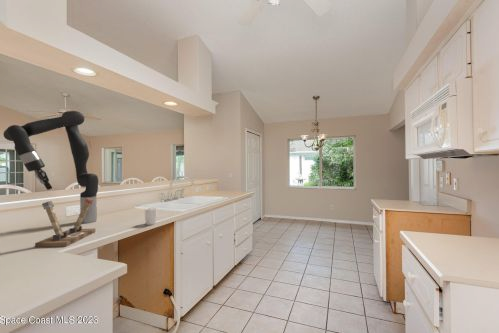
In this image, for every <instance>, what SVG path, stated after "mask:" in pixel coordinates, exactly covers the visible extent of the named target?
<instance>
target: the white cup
mask: <svg viewBox="0 0 499 333" xmlns="http://www.w3.org/2000/svg"><path fill="white" fill-rule="evenodd" d="M157 220H158V208H157V207H147V208H146V207H145V209H144V221H145V225H147V226H149V225H150V226H152V225H156V224H157V222H158V221H157Z"/></svg>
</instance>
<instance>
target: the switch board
mask: <svg viewBox="0 0 499 333" xmlns="http://www.w3.org/2000/svg"><path fill="white" fill-rule="evenodd" d="M62 232H63V233H64V236H63V237H61V235H56V234H54V235H52V236H48V237H47V238H44V239H42V240H39V241H37V242H35V243H34V248H56V247H57V248H58V247H61V248H63V247H69V246H70V244H71V245H72V243H73V244H74V243H76V242H78V241H80V240H82V239H84V238H86V237H88V236H90V235H92V234H95V233H96V228H83V226H82V225H81V226H80V228H79V230H77V228H74V227H71V228H69V229H67V230H65V231H62ZM62 246H63V247H62Z"/></svg>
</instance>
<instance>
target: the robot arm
mask: <svg viewBox="0 0 499 333" xmlns="http://www.w3.org/2000/svg"><path fill="white" fill-rule="evenodd" d="M84 121H85V116H84V114H83V113H81V112H80V111H78V110H77V111H76V110H67V111H65V112H63V113H62V115H61V116H57V117H52V118H46V119H40V120H39V119H38V120H35V121H31V122H28V123H25V124H23V125H18V124H14V125H13V124H12V125H9V126H8V127H7V128H6V129H5V130H4V131H3V137H4V139H6V140H7V141H9V142H10V141H11V142H13V144H14V150H15V152H16V154H17V155H18V156H19V158H20V161H21V162H22V164H23V165H24V167H25V169H26V170H27V172H30V173H31V172H34V176H35V177H36V178H37V179H38V181H39V182H40V183H41V184H42V185H44V187H45V189H46V190H47V191H49V190H51V189H53V186H52V185H51V183H50V179H49V177H48V175H47V172H46V170H43V169H42V168H44V167H45V166H46V165H45V163H44V161H43V160H42V158H41V157H40V155H39V154H38V153H37V150H35V148H34V146H33V144H31V141H30V140H31V139H30V138H29V137H31V136H35V135H40V134H43V133H46V132H50V131H54V130H56V129H61V128H64V130H65V132H66V135H67V138H68V143H69V146H70V151H71V155H72V158H73V162H74V167H75V176H76V180H77V181H76V182H77V184H78V185H79V186H80V187H83V188H85V190H84V191H82V192H80V194H79V199H80V200H79V203H80V204H79V206H80V209H79V210H80V211H79V212H80V213H81V210H82V208H83V206H84V204H83V203H84V201H85V199H87V198H90V199H93V202H92V204H91V205H90V206H89V208H88V210H87V213H86V215H85V217H84V219H83V221H82V223H81V224H85V223H93V222H97V220H98V216H97V215H98V210H97V209H98V207H97V194H98V191H99V178H98V175H97V174H95V173H88V169H87V163H88V160H89V156H90V152H89V151H90V150H89V148H88V144H87V142H86V140H85V139H84V138H83V136H82V135H81V133H80V129H79V126H80V125H83V123H84ZM80 213H79V214H80Z"/></svg>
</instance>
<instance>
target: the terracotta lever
mask: <svg viewBox="0 0 499 333" xmlns="http://www.w3.org/2000/svg"><path fill="white" fill-rule="evenodd" d="M92 202H93V199H90V198H87V199H85V201H84V203H83V204H84V206H83V208H82V210H81V213H79V215H78V216H77V219H76V221H75V224H74V225H73V228H77V230H79V228H80V226H82V224H83V223H82V221H83V219H84V217H85V215H86V213H87V210H88V208H89V206H90V205H91V204H92Z"/></svg>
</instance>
